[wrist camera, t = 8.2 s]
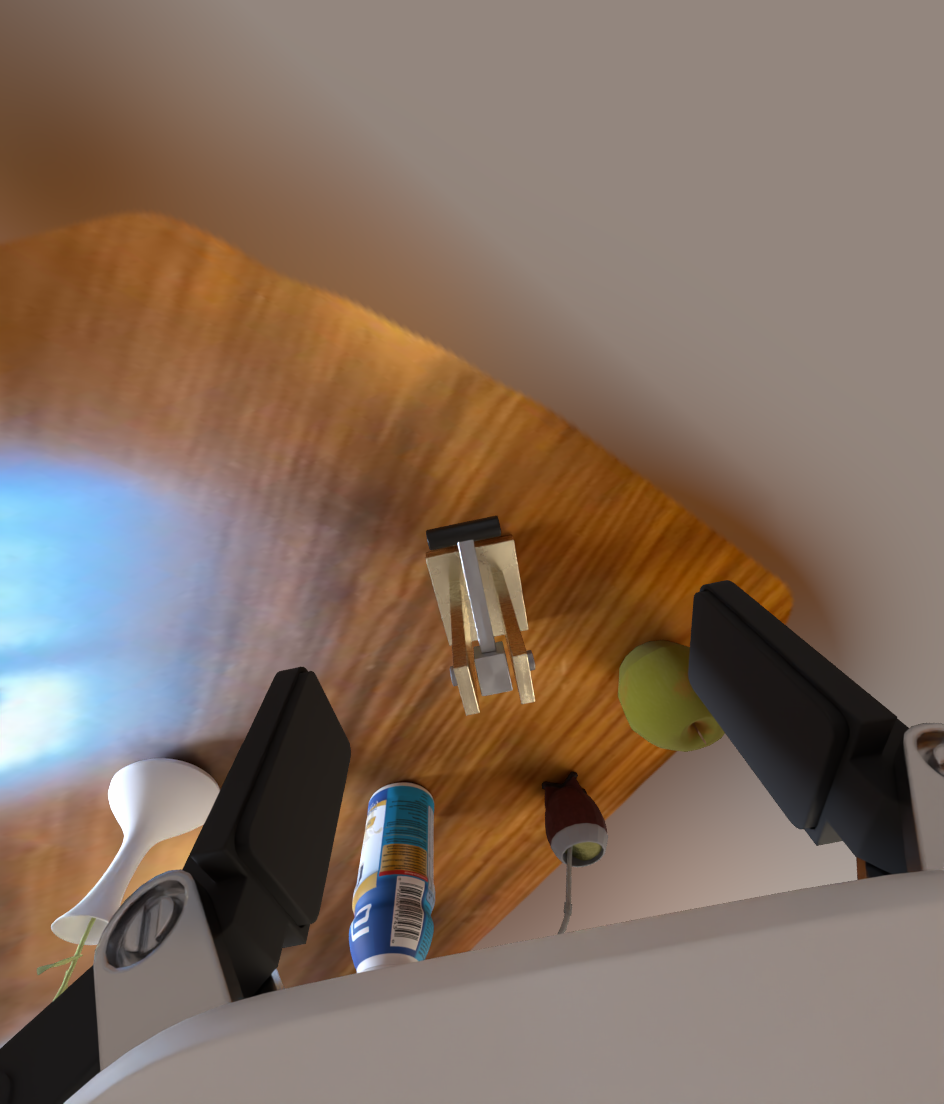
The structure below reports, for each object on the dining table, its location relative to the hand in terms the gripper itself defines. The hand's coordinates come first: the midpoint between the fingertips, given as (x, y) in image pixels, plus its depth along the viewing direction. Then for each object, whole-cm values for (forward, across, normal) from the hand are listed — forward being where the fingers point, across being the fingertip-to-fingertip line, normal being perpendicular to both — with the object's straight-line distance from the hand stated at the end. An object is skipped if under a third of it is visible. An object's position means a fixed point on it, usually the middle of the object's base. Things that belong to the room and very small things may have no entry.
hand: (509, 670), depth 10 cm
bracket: (+26, +1, +14) cm, 30 cm away
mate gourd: (+25, -4, +47) cm, 53 cm away
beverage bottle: (+25, +16, +43) cm, 52 cm away
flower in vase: (+26, +41, +32) cm, 58 cm away
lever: (+18, +1, +10) cm, 20 cm away
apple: (+26, -16, +28) cm, 41 cm away
